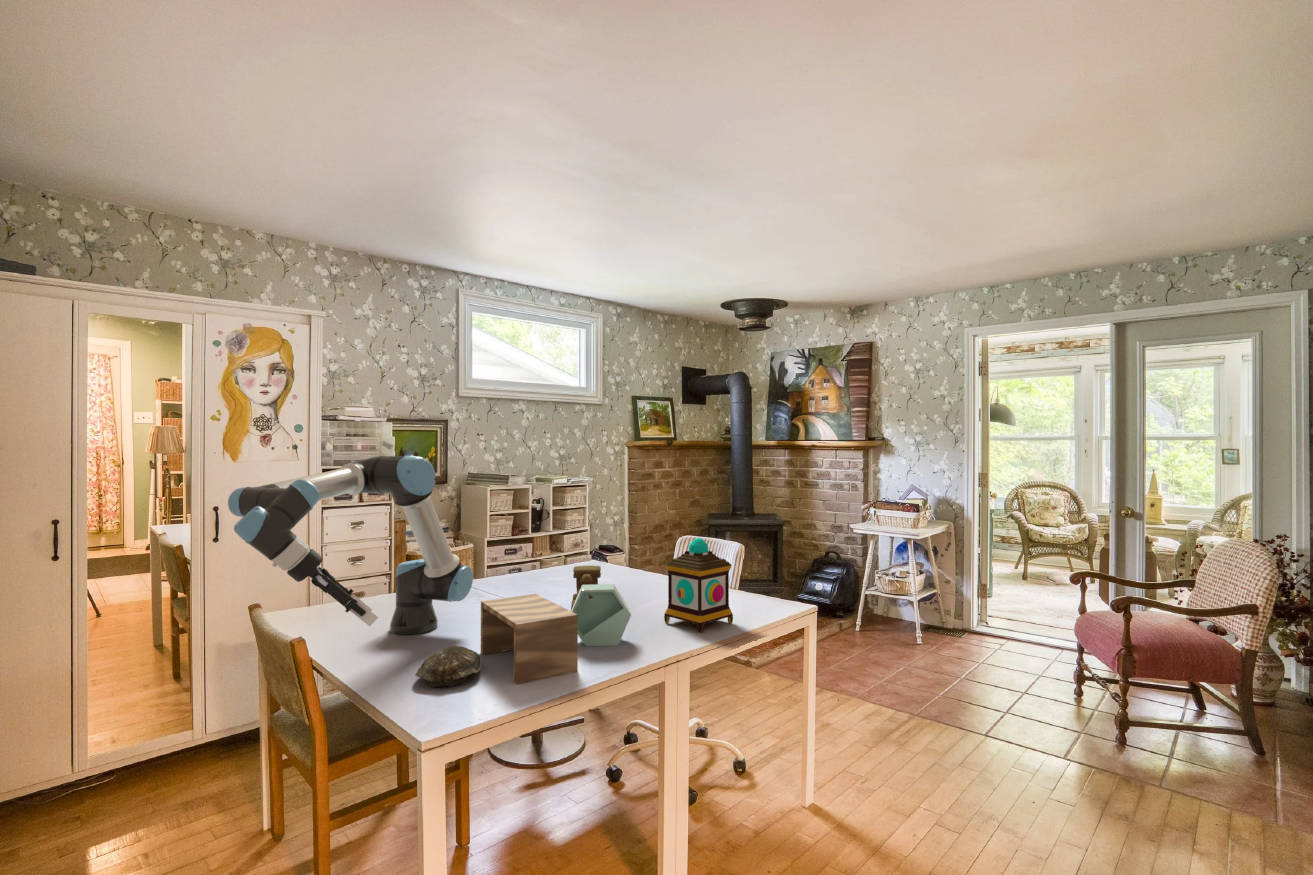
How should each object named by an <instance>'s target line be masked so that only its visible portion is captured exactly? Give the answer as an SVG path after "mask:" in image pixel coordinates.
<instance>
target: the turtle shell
mask: <svg viewBox="0 0 1313 875" xmlns="http://www.w3.org/2000/svg"><path fill="white" fill-rule="evenodd" d="M481 660H482V659H481V655H480V654H479V653H478V652H476V651H474V650H473V649H470V648H467V647H465V646H462V645H461V646H459V645H455V644H453V645H449V646H446V647H441V649H437V651H436V650H435V652H433V653H431V654H430V655H428V657H426V658H425V659H424V661H423V662H422V664H421V665H420V667H419V668H418V669H417V672H416V673H415V677H417V678H419V679H421V680H425V681H427V685H428V686H430V687H452V686H458V685H461V684H463V683H465V681H466V680H467V677H468V676H470V675H472V674H476V673H479V672H480V670H481V666H482V665H481V664H482V663H481V662H482V661H481Z"/></svg>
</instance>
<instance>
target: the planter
mask: <svg viewBox="0 0 1313 875" xmlns="http://www.w3.org/2000/svg"><path fill="white" fill-rule="evenodd" d="M587 593H589V595H590V596H592V597H593V598H592V599H589V596H588V594H587ZM570 611H571V612H573V613H575V614H577V615H578V637H579V639H580V640H581V641H582V643H583V645H584V646H585V647H607V646H608V647H609V646H611V647H612V646H618V645H619V644H620V643H621V640H622V637H623V636H624V632H625V631H626V628H627V626H628V624H629V621H630V619H631V617H632V613H631V608H630V607H629V605H628V604H627V602H626V600H625V599H624V597H623V596H622V594H621V593H620V591H619V590H618V588H617V587H616V586H615V584H614V583H613V584H611V583H609V584H607V583H606V584H605V583H603V584H599V583H598V584H596V585H582V586H581V589H580V591H579V593H578V596H577V598H576V600H575V603H574V605H573V607H572V610H571V609H570Z"/></svg>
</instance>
